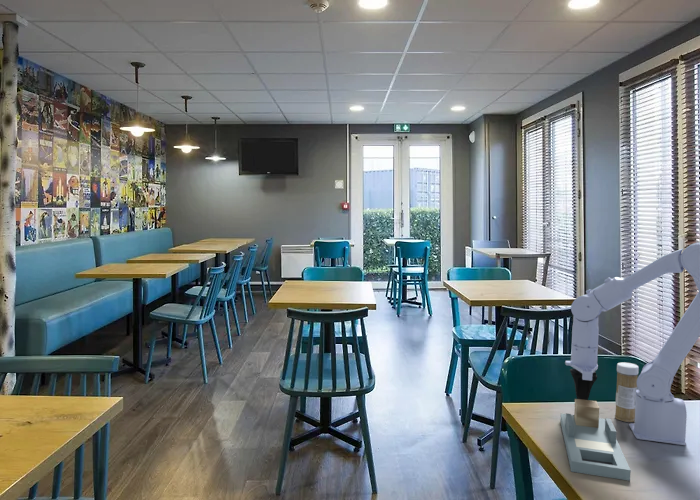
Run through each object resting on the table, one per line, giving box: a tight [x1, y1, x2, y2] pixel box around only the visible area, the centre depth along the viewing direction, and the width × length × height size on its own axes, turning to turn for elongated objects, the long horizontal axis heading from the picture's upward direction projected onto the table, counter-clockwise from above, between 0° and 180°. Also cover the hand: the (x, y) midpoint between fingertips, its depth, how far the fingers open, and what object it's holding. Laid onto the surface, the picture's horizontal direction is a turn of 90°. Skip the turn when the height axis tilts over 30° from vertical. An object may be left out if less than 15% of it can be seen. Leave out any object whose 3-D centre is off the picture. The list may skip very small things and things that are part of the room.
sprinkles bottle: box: [614, 361, 640, 423], centre depth 121 cm, size 5×5×13 cm
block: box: [573, 398, 600, 428], centre depth 113 cm, size 4×4×4 cm
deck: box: [560, 412, 631, 481], centre depth 105 cm, size 10×25×4 cm, turn 162°
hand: (581, 400), depth 121 cm, fingers closed
